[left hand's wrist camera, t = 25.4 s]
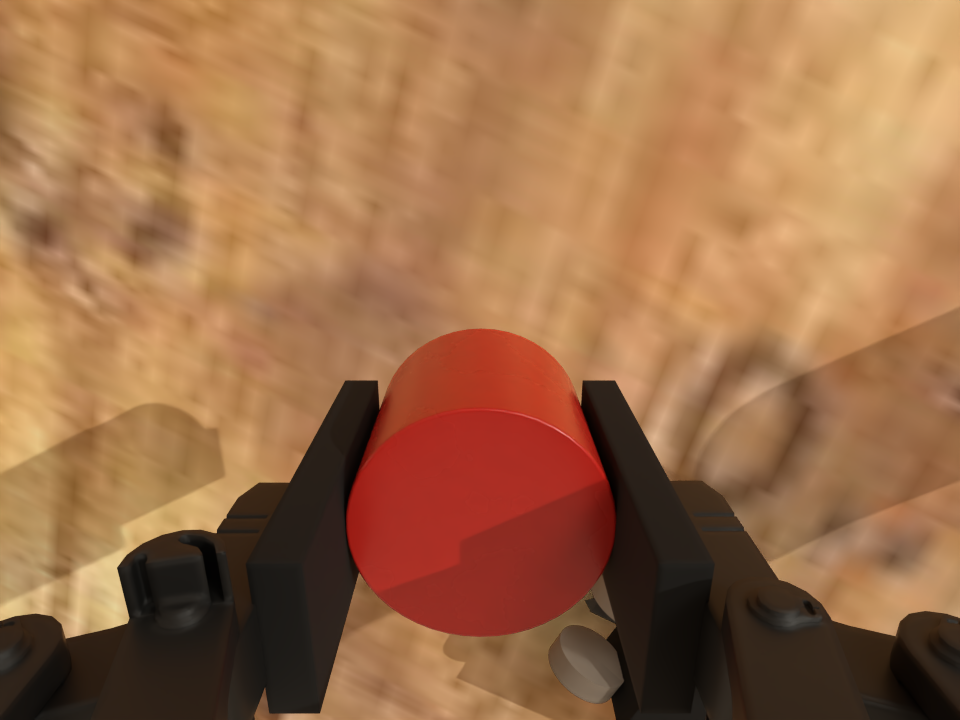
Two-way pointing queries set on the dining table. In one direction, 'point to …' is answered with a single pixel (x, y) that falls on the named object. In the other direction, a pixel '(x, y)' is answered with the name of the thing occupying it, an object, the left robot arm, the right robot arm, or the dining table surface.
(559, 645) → the figurine character
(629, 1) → the dining table surface
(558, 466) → the tin
